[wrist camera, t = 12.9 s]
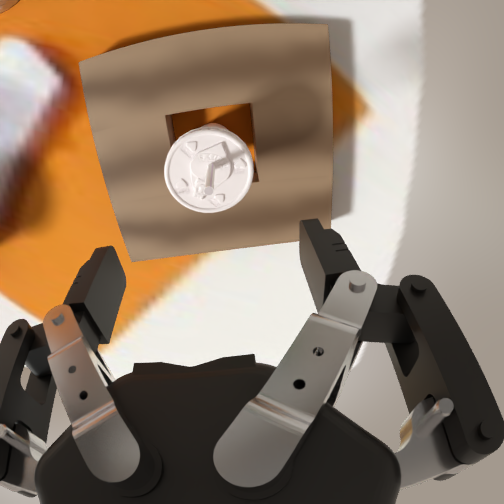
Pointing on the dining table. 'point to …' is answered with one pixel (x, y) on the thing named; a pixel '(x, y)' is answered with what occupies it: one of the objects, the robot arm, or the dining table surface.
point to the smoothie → (209, 169)
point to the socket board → (207, 96)
